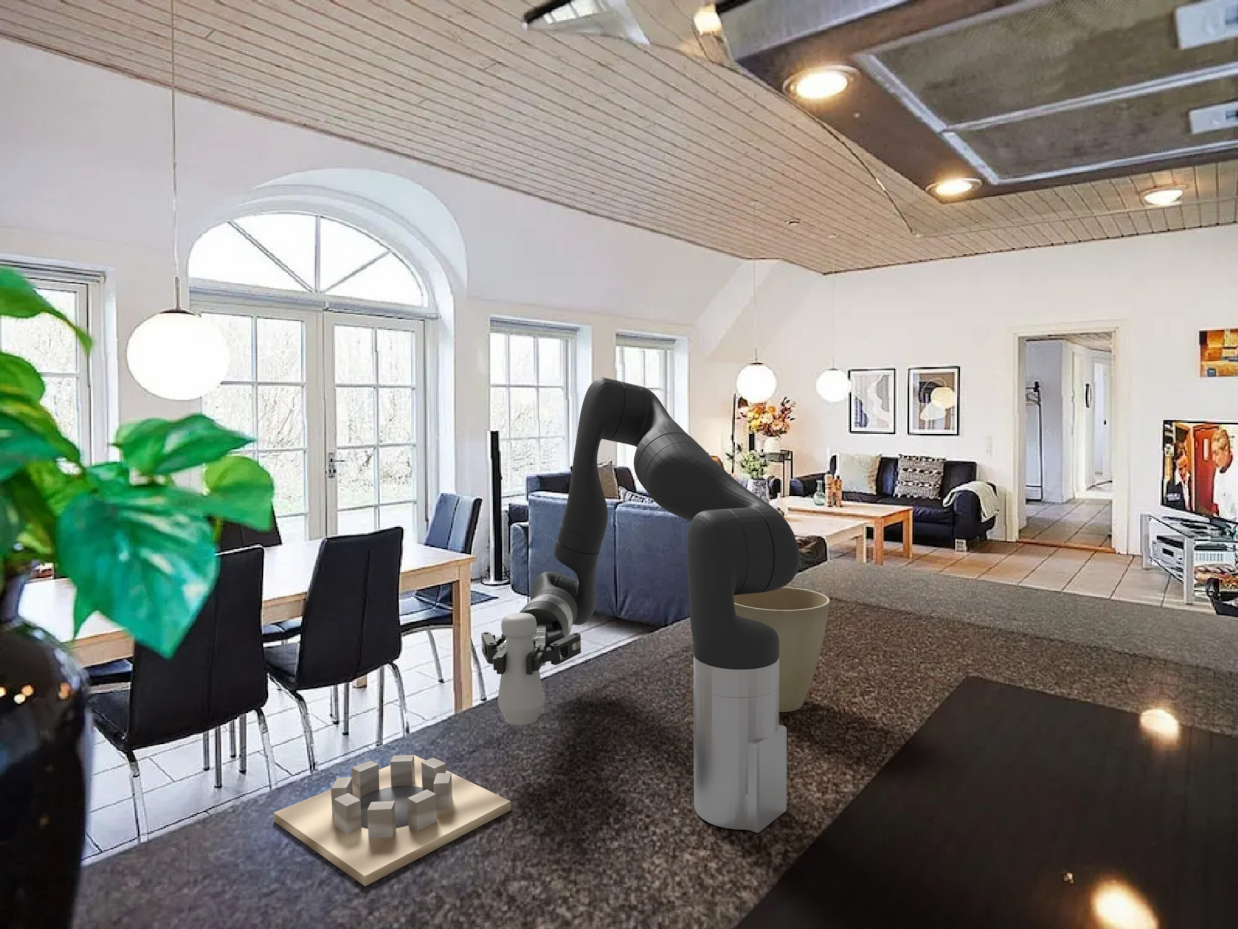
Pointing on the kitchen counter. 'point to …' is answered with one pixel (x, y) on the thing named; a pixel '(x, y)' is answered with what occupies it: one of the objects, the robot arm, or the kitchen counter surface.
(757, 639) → the robot arm
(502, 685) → the salt shaker
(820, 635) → the plant pot
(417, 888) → the kitchen counter surface
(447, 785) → the stonehenge model
